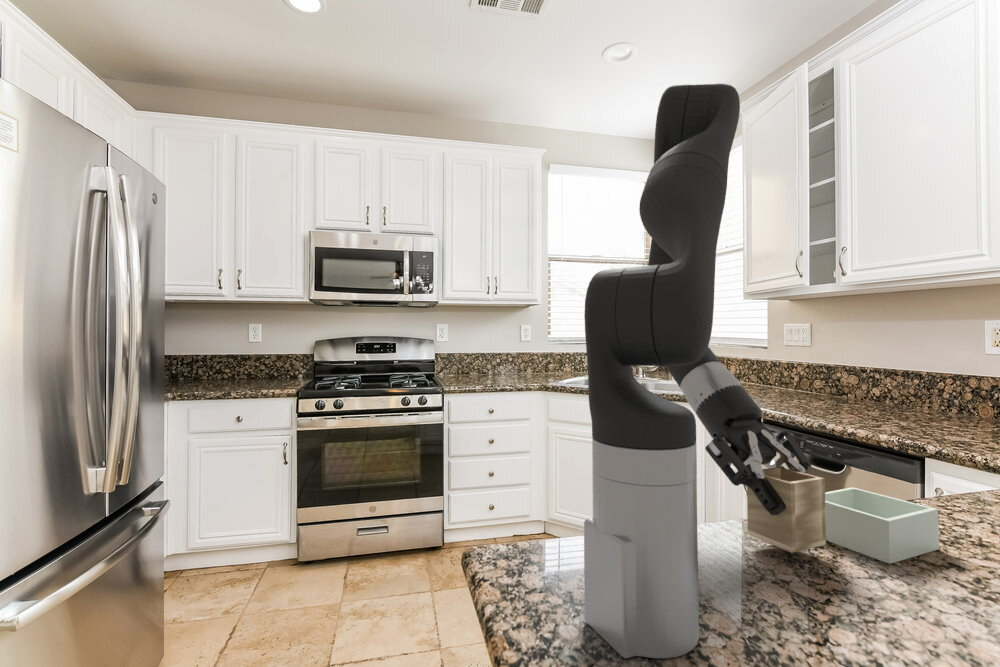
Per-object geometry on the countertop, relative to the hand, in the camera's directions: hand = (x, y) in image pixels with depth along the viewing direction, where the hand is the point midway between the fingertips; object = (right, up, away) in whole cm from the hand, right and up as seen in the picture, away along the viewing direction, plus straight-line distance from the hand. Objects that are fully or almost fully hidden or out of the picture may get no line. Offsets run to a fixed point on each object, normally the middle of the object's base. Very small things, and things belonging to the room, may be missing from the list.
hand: (798, 508), depth 59 cm
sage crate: (+12, -6, +5) cm, 14 cm away
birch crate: (-1, -4, +1) cm, 5 cm away
